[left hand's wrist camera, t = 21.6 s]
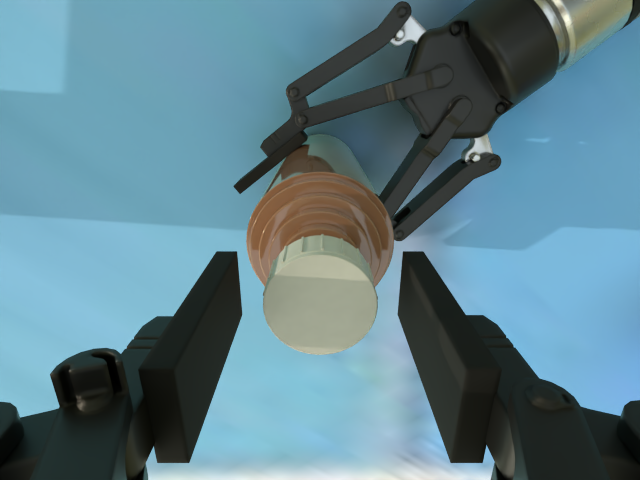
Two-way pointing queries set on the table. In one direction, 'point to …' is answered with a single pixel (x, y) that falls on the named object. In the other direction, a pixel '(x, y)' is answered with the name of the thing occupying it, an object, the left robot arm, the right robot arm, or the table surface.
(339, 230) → the bottle
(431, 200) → the right robot arm
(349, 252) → the cap
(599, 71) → the table surface
